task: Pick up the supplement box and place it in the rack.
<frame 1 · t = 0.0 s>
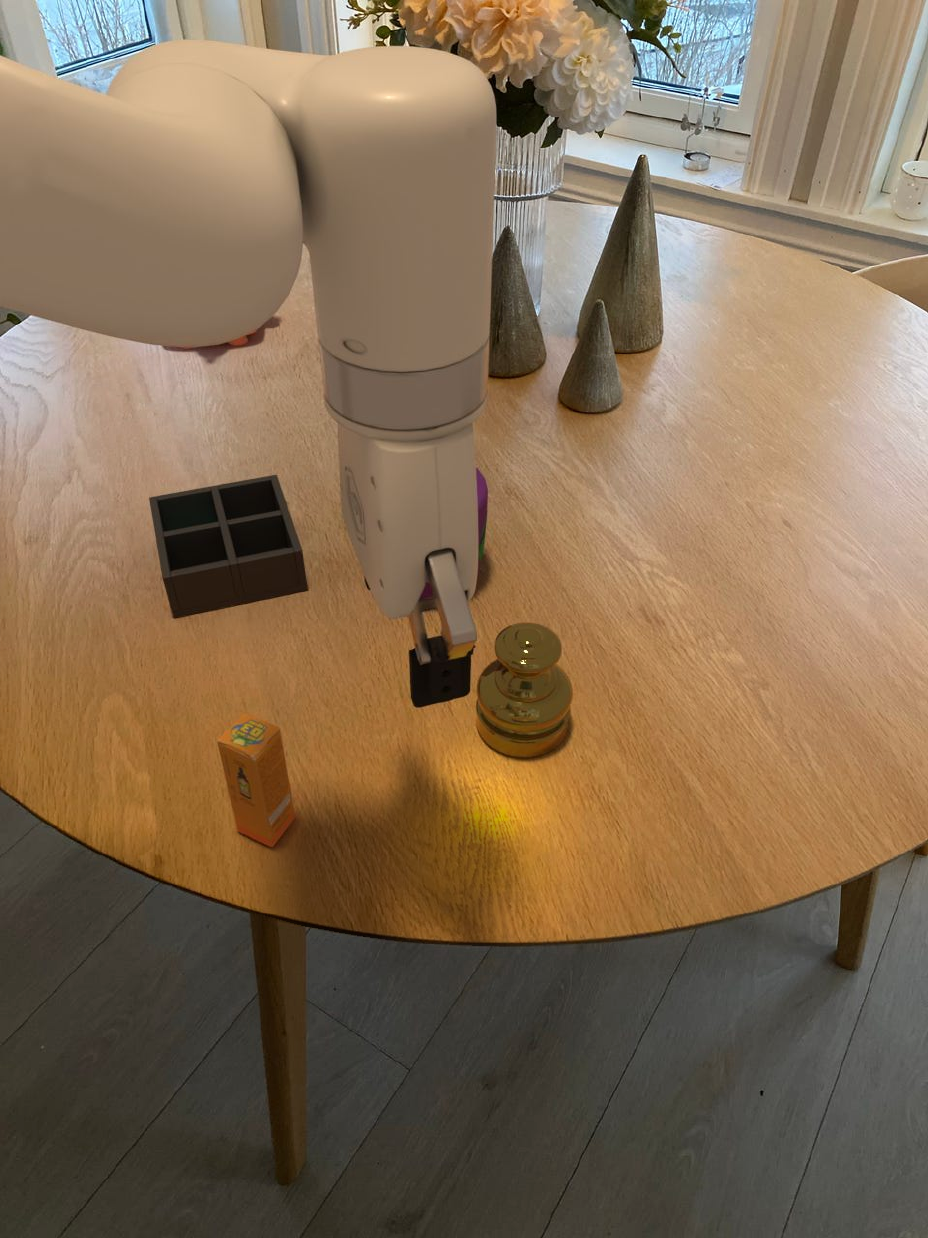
hand: (414, 637, 55), 20 cm above the table, tool pointing down, fingers open, 9 cm apart
brass knobbed weight: (521, 725, 77), on the table
supplement box: (268, 824, 70), on the table
teapot: (214, 331, 124), on the table
mug: (425, 552, 92), on the table
rack: (231, 562, 91), on the table
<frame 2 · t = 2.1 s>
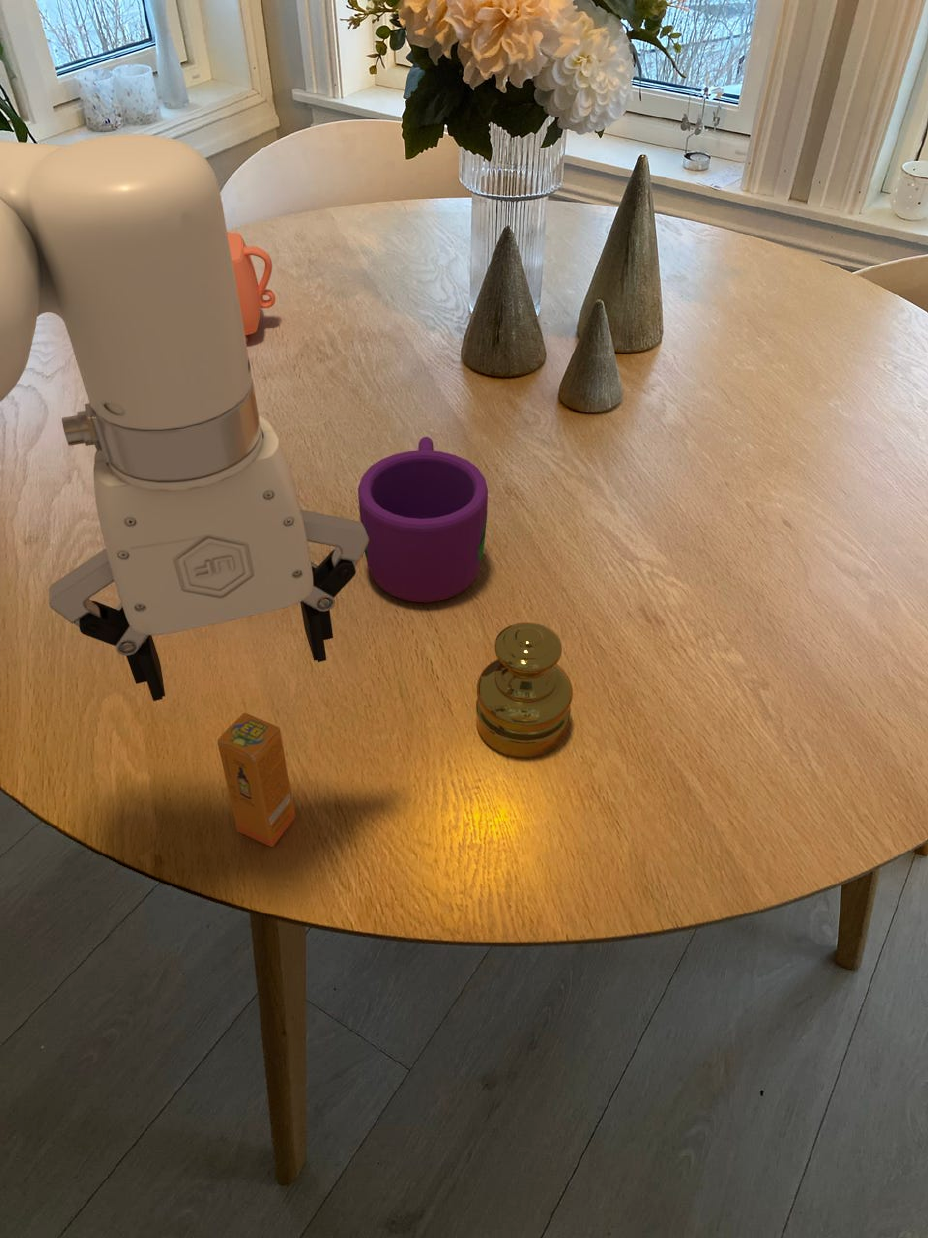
hand: (238, 664, 58), 17 cm above the table, tool pointing down, fingers open, 9 cm apart
nothing on the table moved.
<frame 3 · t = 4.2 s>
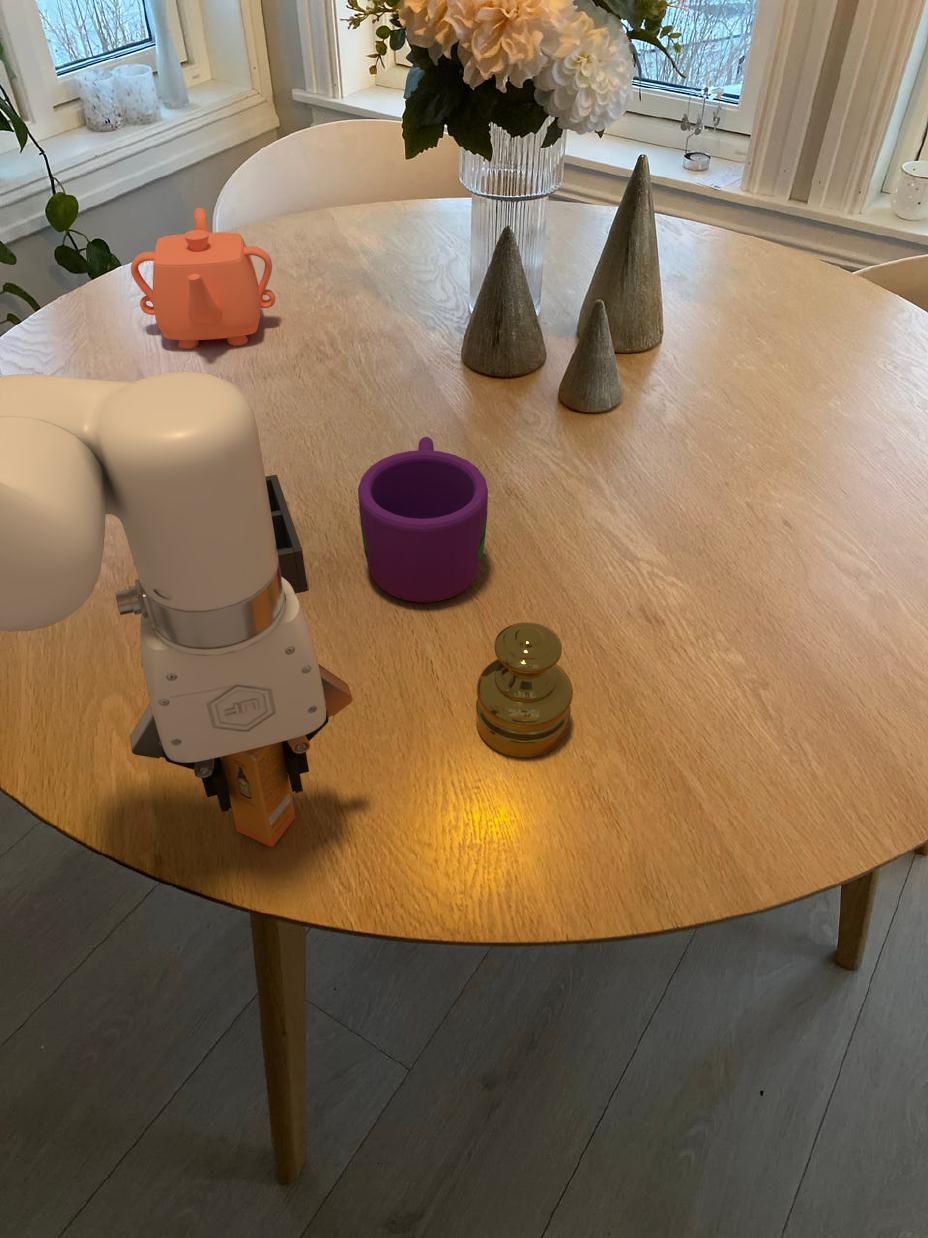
hand: (258, 784, 66), 5 cm above the table, tool pointing down, fingers closed on supplement box, 4 cm apart
supplement box: (268, 824, 70), on the table, touching gripper
everything else where it was.
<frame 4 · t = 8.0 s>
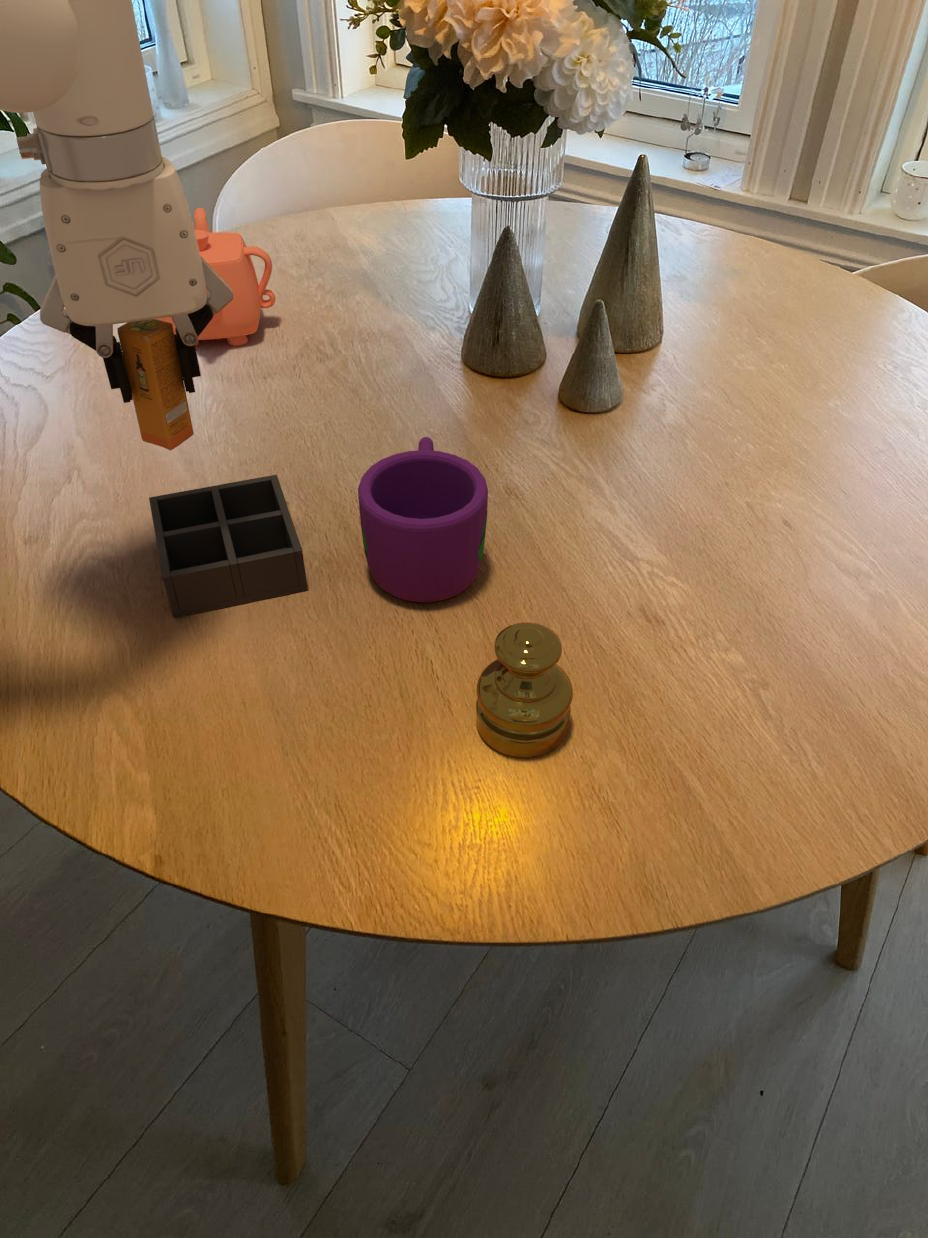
hand: (157, 387, 77), 19 cm above the table, tool pointing down, fingers closed on supplement box, 4 cm apart
supplement box: (170, 439, 81), point 14 cm above the table, touching gripper
everything else where it was.
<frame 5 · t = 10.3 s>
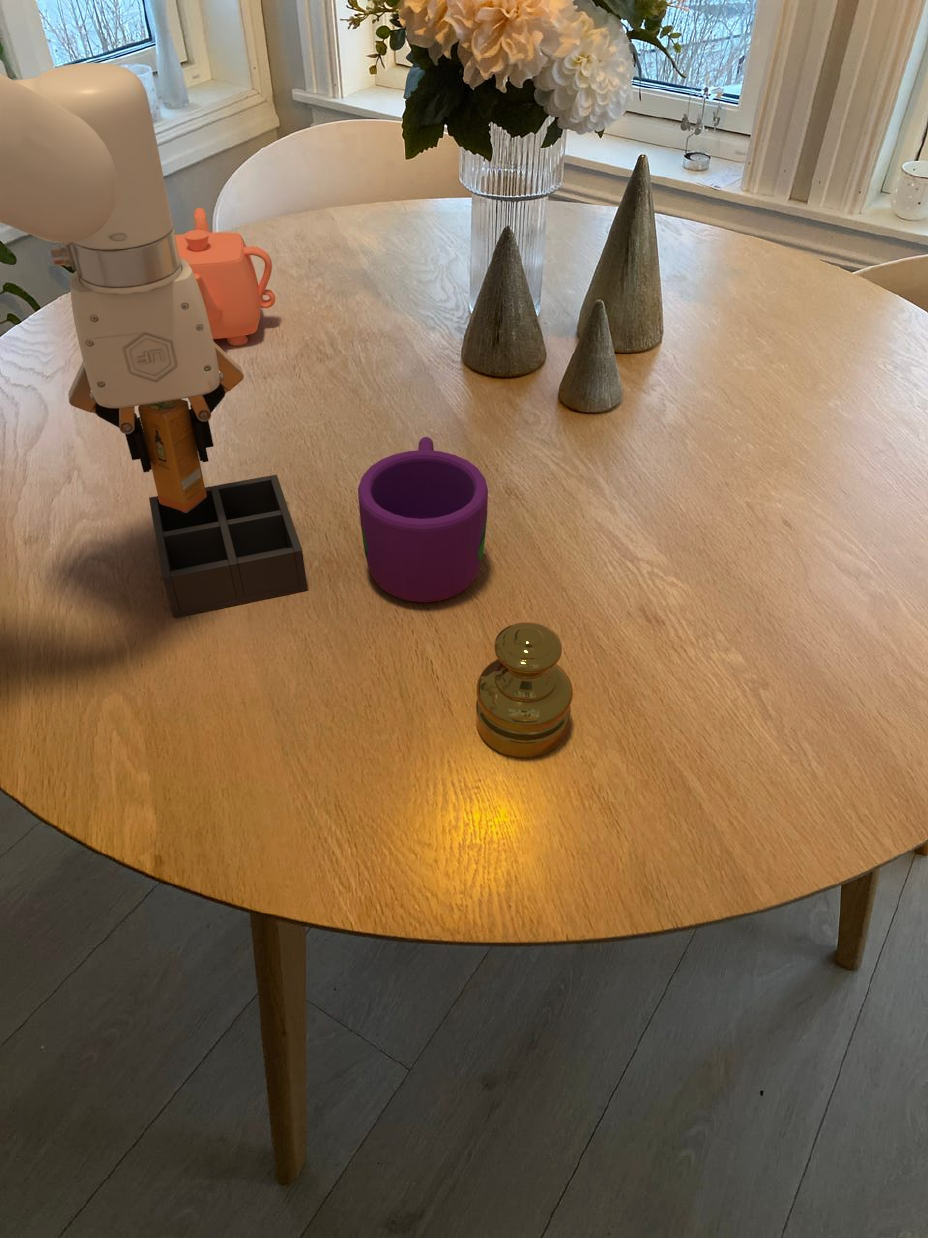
hand: (174, 456, 84), 11 cm above the table, tool pointing down, fingers closed on supplement box, 4 cm apart
supplement box: (184, 501, 88), point 6 cm above the table, touching gripper
everything else where it was.
when the fingers open (6 cm above the table, at t = 12.1 s): supplement box stays where it is, resting on rack.
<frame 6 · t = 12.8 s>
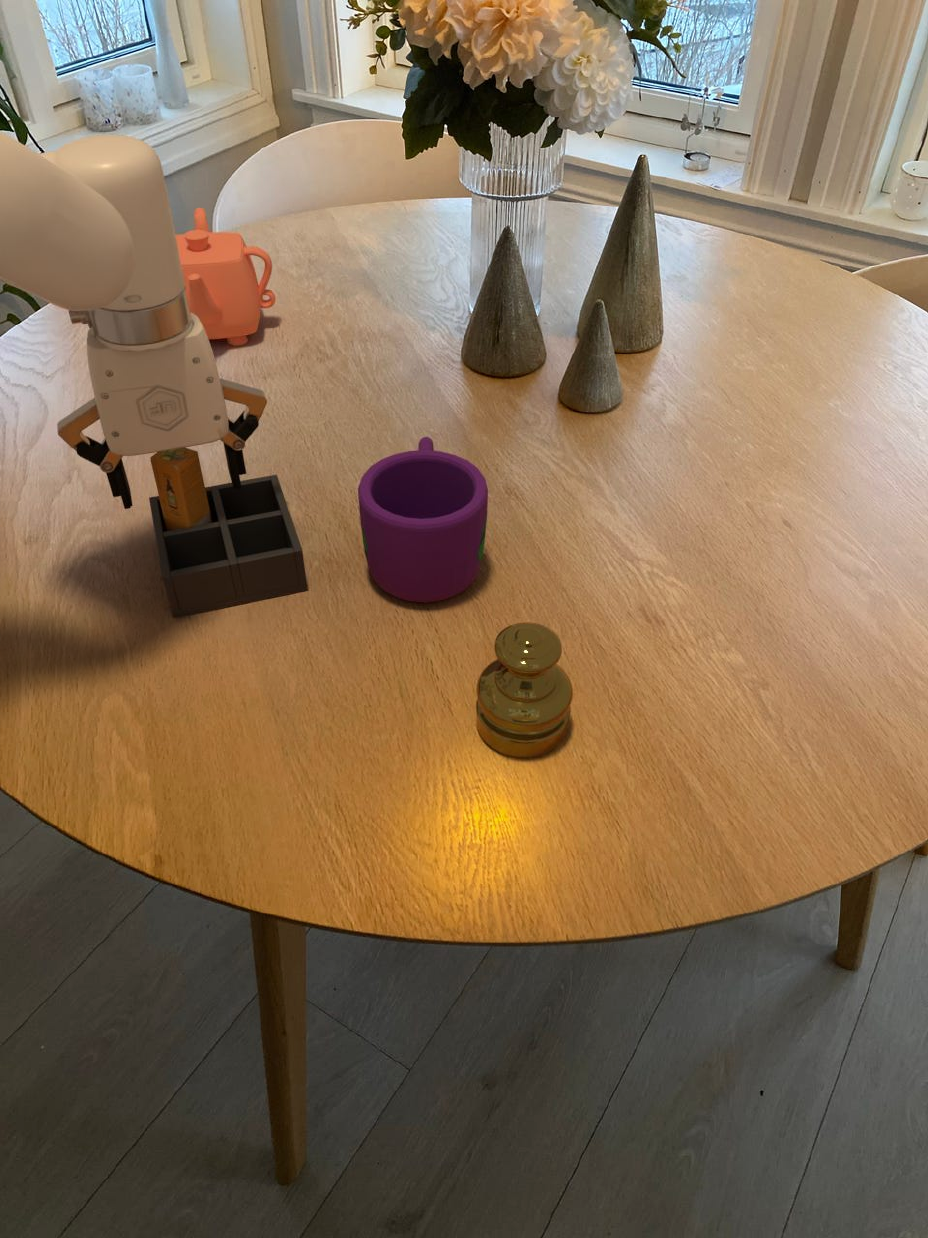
hand: (182, 490, 87), 7 cm above the table, tool pointing down, fingers open, 9 cm apart
supplement box: (194, 544, 91), point 1 cm above the table, touching rack
everything else where it was.
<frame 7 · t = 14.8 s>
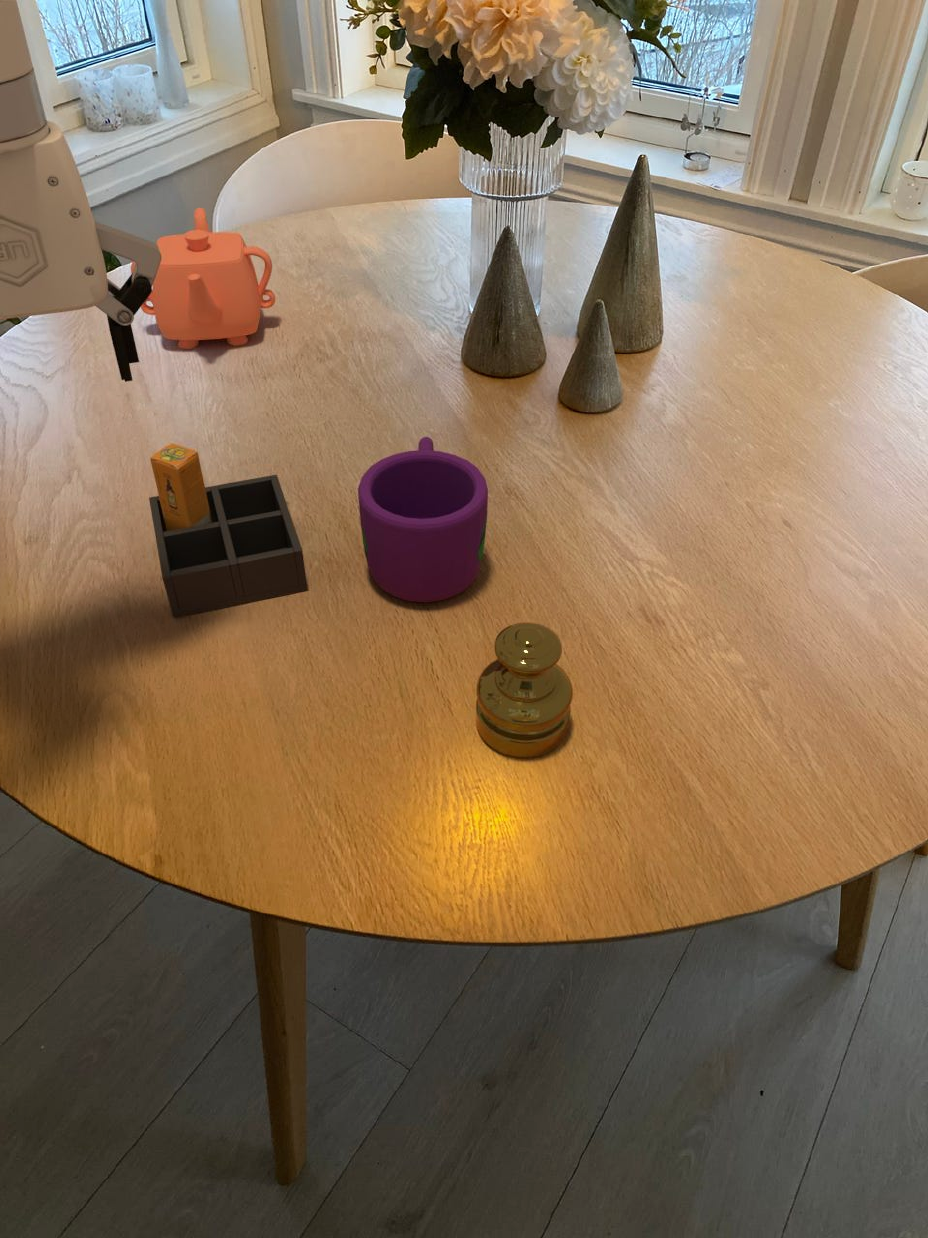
hand: (53, 382, 66), 25 cm above the table, tool pointing down, fingers open, 9 cm apart
nothing on the table moved.
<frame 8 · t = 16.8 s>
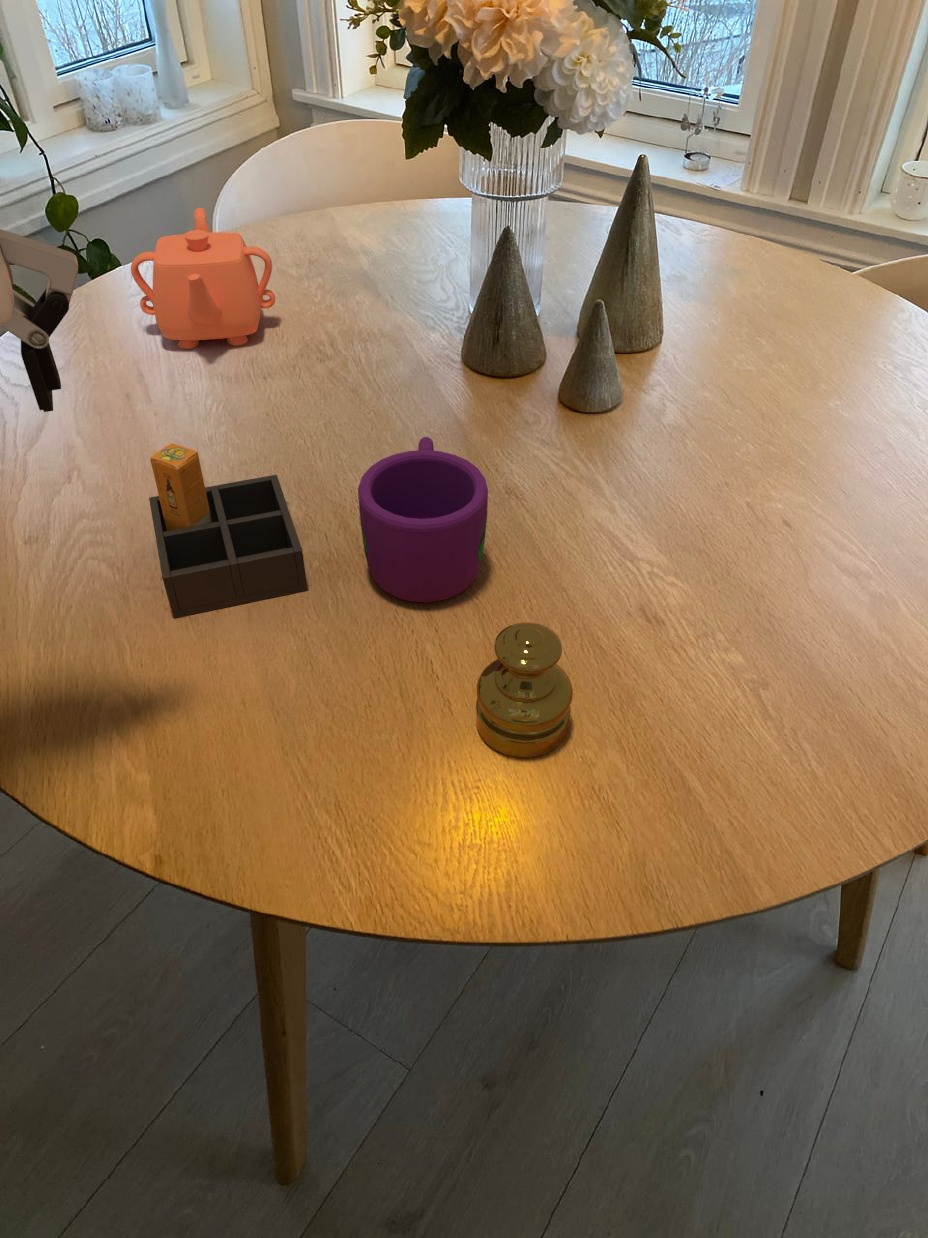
nothing on the table moved.
at the end: supplement box 0.1 cm from the target spot in the rack, point 0.8 cm above the rack's base; supplement box tilted 0° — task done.
